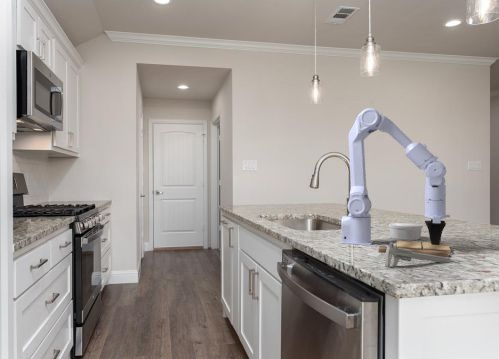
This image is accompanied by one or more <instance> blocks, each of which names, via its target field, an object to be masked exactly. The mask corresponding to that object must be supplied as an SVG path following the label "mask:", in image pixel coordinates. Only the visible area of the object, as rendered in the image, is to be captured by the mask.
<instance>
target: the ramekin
mask: <svg viewBox="0 0 499 359" xmlns="http://www.w3.org/2000/svg"><path fill="white" fill-rule="evenodd" d="M388 229H389V233H390V237H391V238H392V239H394V240H398V241H418V240H420V239H421V235H422V229H423V224H420V223H414V222H391V223H389V224H388Z"/></svg>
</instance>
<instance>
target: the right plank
mask: <svg viewBox="0 0 499 359" xmlns="http://www.w3.org/2000/svg"><path fill="white" fill-rule="evenodd" d="M421 248H422V249H432V250H447V252H448V254H449V255H451V254H452V253H451V252H452V251H451V248H450V246H449V244H448V243H441V242H440V244H439V245H432V244H431V242H427V241H426V242H425V241H422V242H421Z"/></svg>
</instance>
